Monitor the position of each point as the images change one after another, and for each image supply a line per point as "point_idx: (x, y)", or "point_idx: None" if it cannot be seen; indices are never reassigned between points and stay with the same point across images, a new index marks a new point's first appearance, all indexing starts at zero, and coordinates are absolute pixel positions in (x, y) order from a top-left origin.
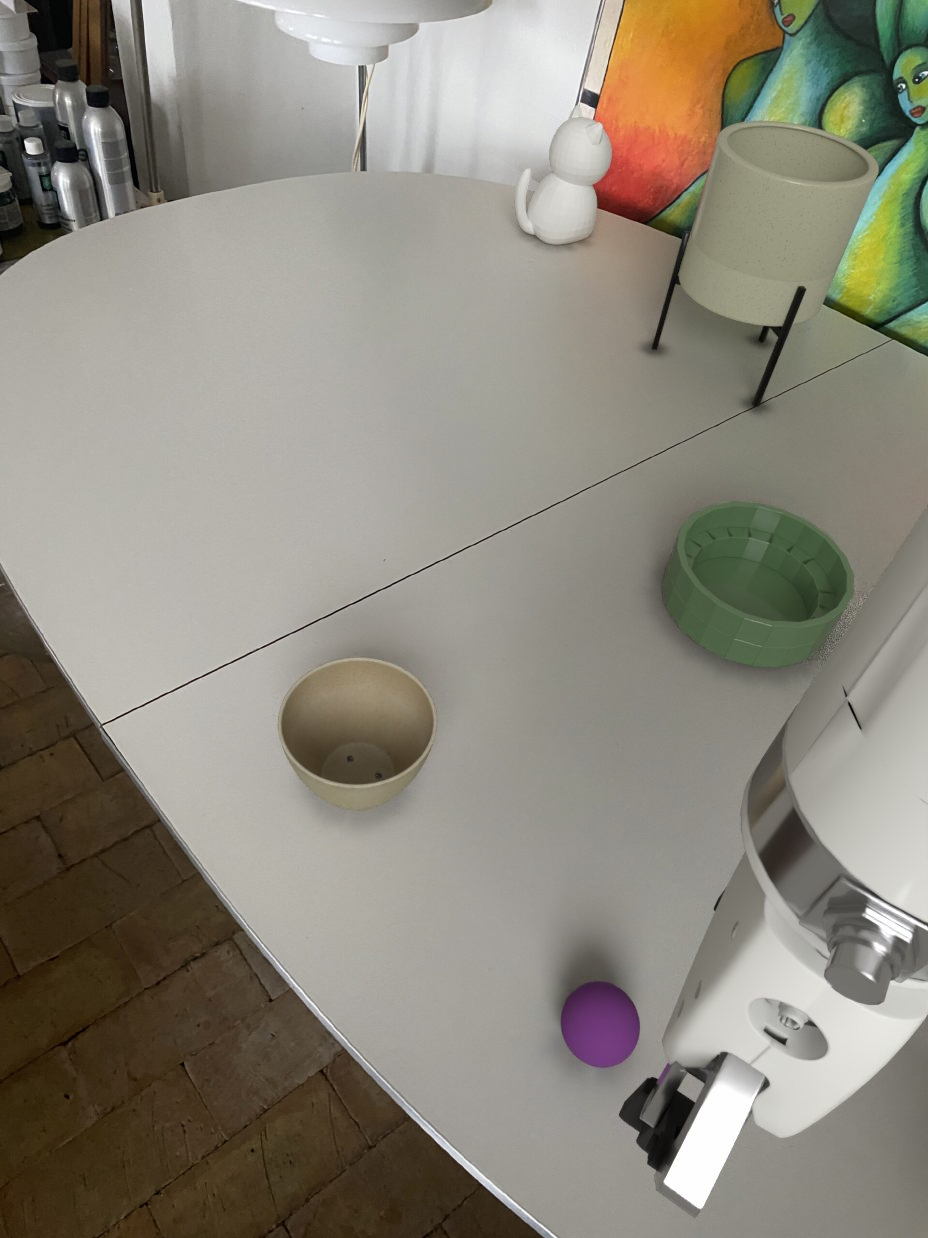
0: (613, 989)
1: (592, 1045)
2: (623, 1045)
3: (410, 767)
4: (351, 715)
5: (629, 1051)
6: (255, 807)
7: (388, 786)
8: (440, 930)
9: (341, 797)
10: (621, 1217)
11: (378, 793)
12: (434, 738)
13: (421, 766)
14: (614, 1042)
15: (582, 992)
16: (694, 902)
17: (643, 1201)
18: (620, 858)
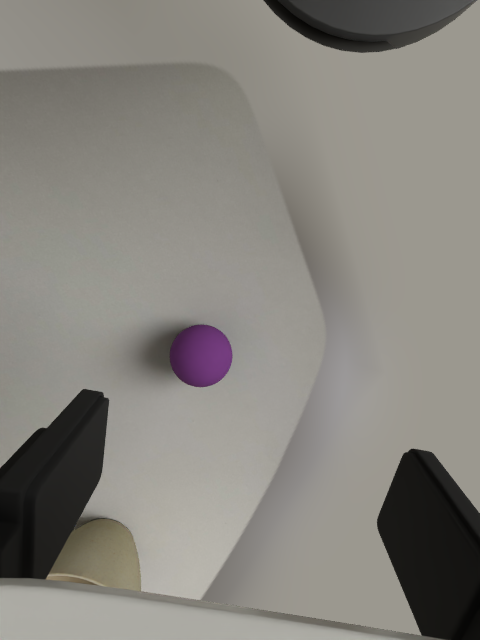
0: (176, 364)
1: (224, 367)
2: (214, 345)
3: (88, 580)
4: (66, 579)
5: (214, 335)
6: (162, 579)
7: (112, 580)
8: (182, 456)
9: (137, 590)
10: (310, 296)
11: (120, 577)
12: (51, 573)
13: (80, 559)
14: (216, 354)
15: (189, 384)
16: (62, 292)
17: (295, 284)
18: (60, 358)
